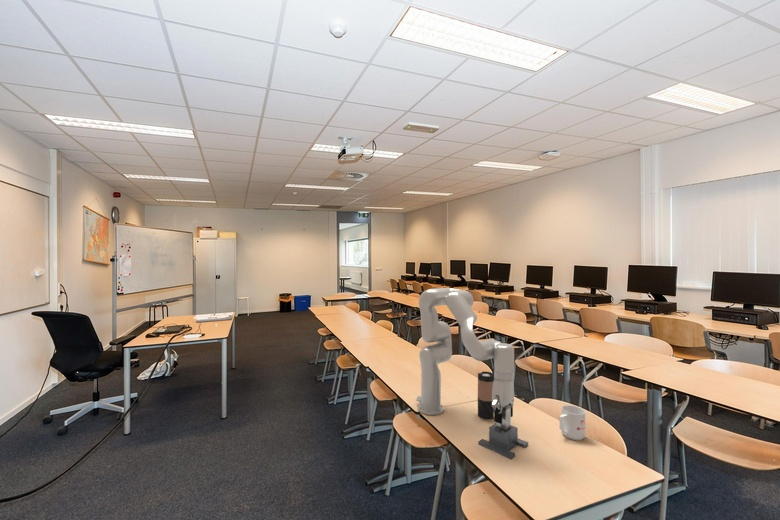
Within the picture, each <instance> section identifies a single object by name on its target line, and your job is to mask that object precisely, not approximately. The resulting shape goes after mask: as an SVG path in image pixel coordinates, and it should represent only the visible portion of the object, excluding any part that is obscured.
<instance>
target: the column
mask: <svg viewBox="0 0 780 520" xmlns="http://www.w3.org/2000/svg"><path fill="white" fill-rule="evenodd" d="M498 404H499V405H501V404H500V403H498ZM497 408H498V409H500V407H499V406H497ZM501 413H502V424H500V423H497V422H495V423H496V428H499V429H501V430H503V431H505V432H506V431H508V430H509V429H511V425H512V424H511V423H512V421H511V420H512V417H511V405H509V404H508V405H506V406H504V407H503V408H502V412H501Z"/></svg>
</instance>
